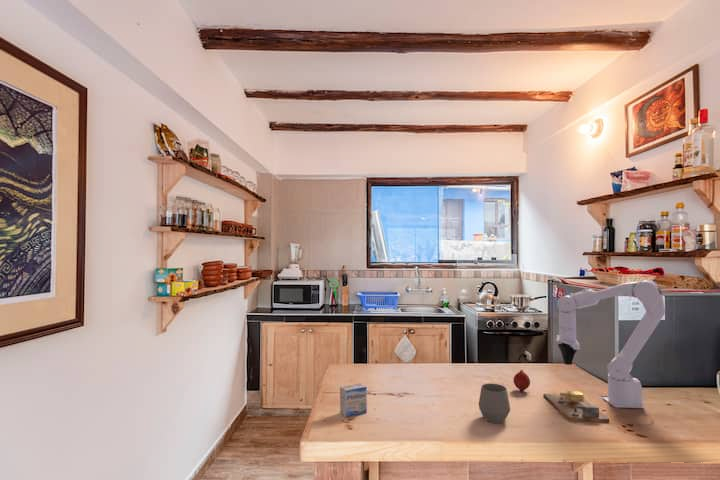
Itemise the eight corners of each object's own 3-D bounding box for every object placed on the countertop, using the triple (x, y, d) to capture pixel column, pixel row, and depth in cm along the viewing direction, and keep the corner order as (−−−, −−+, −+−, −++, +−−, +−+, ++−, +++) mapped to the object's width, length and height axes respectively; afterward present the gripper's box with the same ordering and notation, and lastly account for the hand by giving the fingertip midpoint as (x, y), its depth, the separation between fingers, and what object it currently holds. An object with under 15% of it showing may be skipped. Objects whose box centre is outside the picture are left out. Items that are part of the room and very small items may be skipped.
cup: (506, 428, 116) (506, 395, 117) (475, 421, 121) (475, 389, 121) (512, 417, 124) (512, 385, 125) (483, 410, 129) (483, 380, 130)
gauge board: (577, 397, 140) (577, 386, 141) (609, 422, 120) (609, 409, 121) (543, 396, 141) (543, 385, 141) (569, 421, 121) (569, 408, 121)
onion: (531, 394, 143) (531, 372, 143) (515, 393, 144) (515, 371, 145) (528, 388, 149) (528, 367, 149) (512, 387, 150) (512, 366, 150)
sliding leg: (579, 398, 134) (579, 391, 134) (583, 402, 131) (583, 394, 131) (558, 398, 135) (558, 391, 135) (562, 401, 132) (562, 394, 132)
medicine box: (345, 418, 124) (345, 390, 124) (339, 412, 128) (339, 386, 128) (367, 413, 128) (367, 386, 128) (360, 408, 132) (360, 382, 132)
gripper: (548, 323, 153) (548, 358, 153) (565, 331, 139) (565, 369, 139) (566, 323, 153) (567, 358, 153) (585, 332, 138) (586, 370, 138)
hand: (567, 364), depth 146 cm, fingers closed
